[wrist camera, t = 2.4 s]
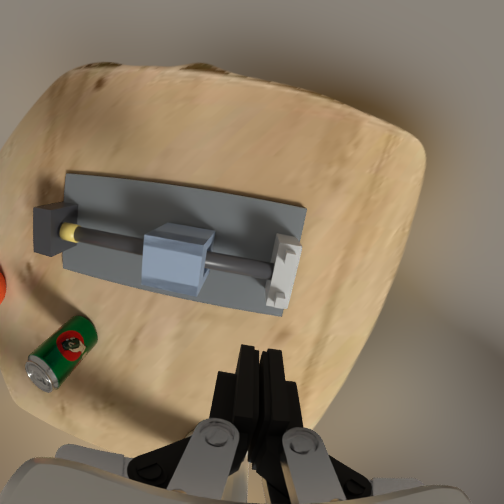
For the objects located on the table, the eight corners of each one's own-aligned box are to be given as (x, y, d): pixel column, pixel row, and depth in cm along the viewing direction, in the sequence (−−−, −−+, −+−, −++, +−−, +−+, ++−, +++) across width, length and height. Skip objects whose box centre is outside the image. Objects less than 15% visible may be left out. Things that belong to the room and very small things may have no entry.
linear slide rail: (305, 208, 28) (318, 215, 22) (281, 313, 31) (286, 343, 25) (67, 173, 27) (34, 174, 21) (63, 265, 30) (35, 281, 24)
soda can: (71, 308, 32) (19, 351, 20) (100, 322, 32) (51, 373, 20) (71, 336, 33) (26, 381, 21) (99, 350, 33) (57, 402, 22)
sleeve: (215, 230, 27) (203, 245, 21) (209, 272, 28) (196, 296, 22) (167, 222, 27) (144, 234, 21) (163, 263, 28) (141, 284, 22)
